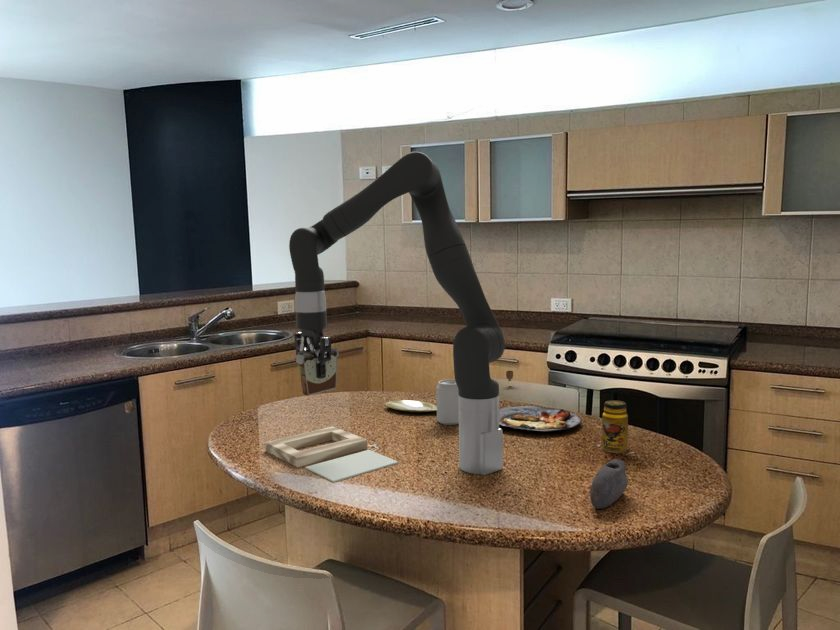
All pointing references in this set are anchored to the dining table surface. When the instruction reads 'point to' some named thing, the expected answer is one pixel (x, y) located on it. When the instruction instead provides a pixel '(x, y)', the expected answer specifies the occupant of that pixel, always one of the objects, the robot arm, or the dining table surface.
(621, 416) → the condiment
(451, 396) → the can
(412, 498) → the dining table surface
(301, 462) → the frame
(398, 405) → the oval serving platter
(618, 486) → the perforated stone tool
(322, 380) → the patterned half cylinder
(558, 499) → the dining table surface
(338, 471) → the mat
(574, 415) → the food plate
